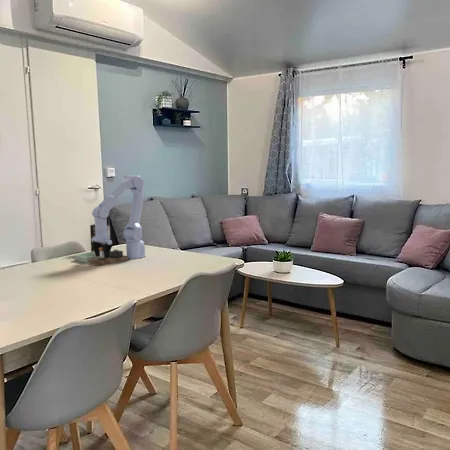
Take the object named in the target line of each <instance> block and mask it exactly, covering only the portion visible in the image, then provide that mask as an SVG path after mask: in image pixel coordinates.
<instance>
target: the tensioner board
mask: <svg viewBox="0 0 450 450" xmlns="http://www.w3.org/2000/svg"><path fill="white" fill-rule="evenodd" d="M128 260H129V258H128V256H127V255H124V252H123V250H119V249H113V250H110V254H109V258H105V260H100V258H96V259H91V260H89V263H88V264H90V265H94V266H97V267H98V266H99V267H100V266H105V265H110V264H115V263H119V262H120V263H121V262H125V261H128Z"/></svg>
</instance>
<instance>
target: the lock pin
mask: <svg viewBox="0 0 450 450" xmlns="http://www.w3.org/2000/svg"><path fill="white" fill-rule="evenodd" d="M99 250H100V260H105V258H104V251H103V248H102V247H99Z"/></svg>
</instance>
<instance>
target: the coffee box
mask: <svg viewBox="0 0 450 450" xmlns="http://www.w3.org/2000/svg"><path fill="white" fill-rule="evenodd" d="M89 226H90V227H89V228H90V252H94V249H93V247H92V245H91V243H93V242H92V238H94V237H96V235H95V223H94V224H90V225H89ZM110 226H111V225H110V224H107V239H109V240H111V227H110ZM103 244H104V243H102V244H101V245H103ZM101 247H102V246H101Z"/></svg>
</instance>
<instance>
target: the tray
mask: <svg viewBox="0 0 450 450" xmlns="http://www.w3.org/2000/svg"><path fill="white" fill-rule="evenodd" d="M96 258H100V256H96V255H95V252H91V251H88V252H83V253H78V254H74V261H75V262H79V263H83V264H84V263H85V264H90V263H89V260H91V259H96Z"/></svg>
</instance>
